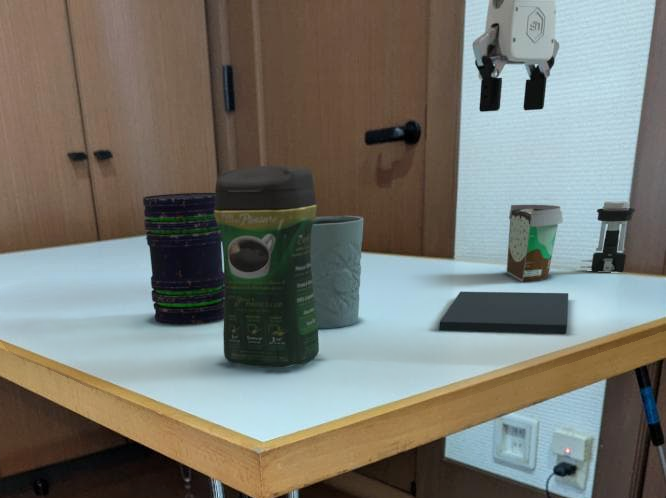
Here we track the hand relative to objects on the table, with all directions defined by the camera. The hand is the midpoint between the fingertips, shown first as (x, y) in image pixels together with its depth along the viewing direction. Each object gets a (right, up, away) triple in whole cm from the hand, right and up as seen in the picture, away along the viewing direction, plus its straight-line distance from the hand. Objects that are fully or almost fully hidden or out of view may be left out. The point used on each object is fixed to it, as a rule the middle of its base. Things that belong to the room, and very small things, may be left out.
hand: (511, 110), depth 116 cm
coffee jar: (-35, -44, -32) cm, 64 cm away
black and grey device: (+18, -20, +10) cm, 29 cm away
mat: (-6, -34, -16) cm, 38 cm away
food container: (+6, -21, +9) cm, 24 cm away
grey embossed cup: (-29, -35, -15) cm, 48 cm away
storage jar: (-46, -33, -9) cm, 57 cm away
